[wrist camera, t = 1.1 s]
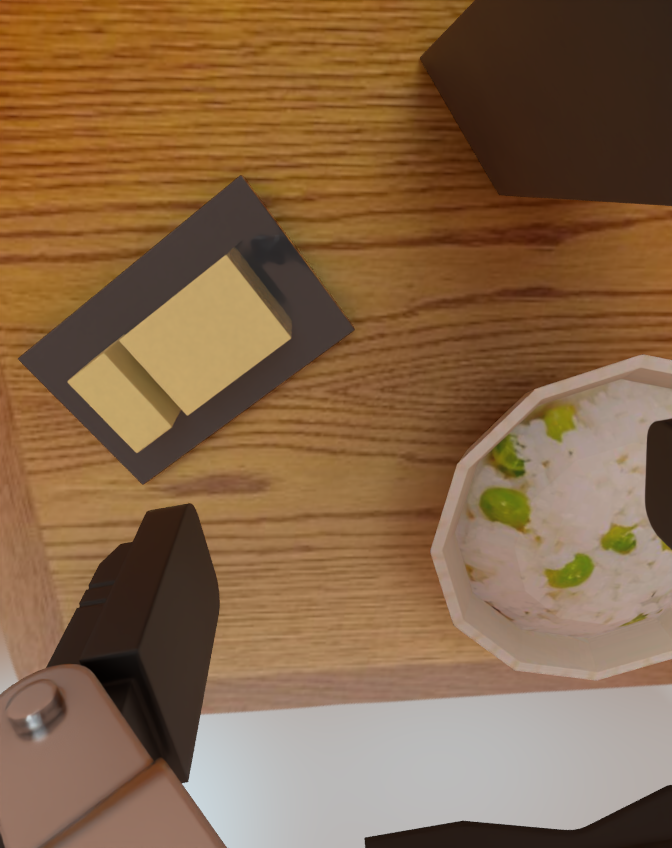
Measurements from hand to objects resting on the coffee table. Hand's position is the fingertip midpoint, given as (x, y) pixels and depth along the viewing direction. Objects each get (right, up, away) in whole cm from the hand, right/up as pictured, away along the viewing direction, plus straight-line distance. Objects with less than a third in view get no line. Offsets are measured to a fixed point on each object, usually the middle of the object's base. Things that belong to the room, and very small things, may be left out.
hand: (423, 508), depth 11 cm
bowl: (+12, -1, +29) cm, 31 cm away
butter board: (-10, +6, +24) cm, 27 cm away
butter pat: (-13, +4, +24) cm, 27 cm away
